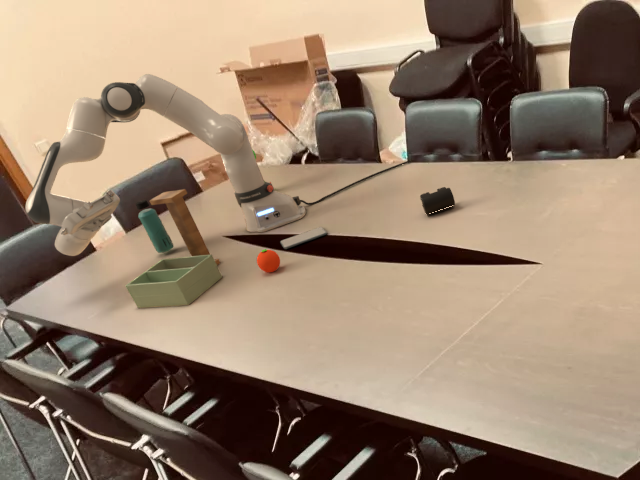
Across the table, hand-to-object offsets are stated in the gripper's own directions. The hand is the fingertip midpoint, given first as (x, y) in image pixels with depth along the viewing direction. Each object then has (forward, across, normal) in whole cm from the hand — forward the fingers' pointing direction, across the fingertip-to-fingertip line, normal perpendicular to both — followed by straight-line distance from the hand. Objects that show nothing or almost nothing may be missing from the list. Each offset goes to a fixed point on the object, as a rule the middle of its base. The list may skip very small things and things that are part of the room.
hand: (100, 198), depth 218 cm
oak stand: (-4, +12, +34) cm, 36 cm away
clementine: (+23, +6, +50) cm, 55 cm away
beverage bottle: (-30, +29, +19) cm, 46 cm away
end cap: (+62, +41, +72) cm, 103 cm away
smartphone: (+22, +29, +49) cm, 61 cm away
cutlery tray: (-2, -4, +35) cm, 36 cm away
